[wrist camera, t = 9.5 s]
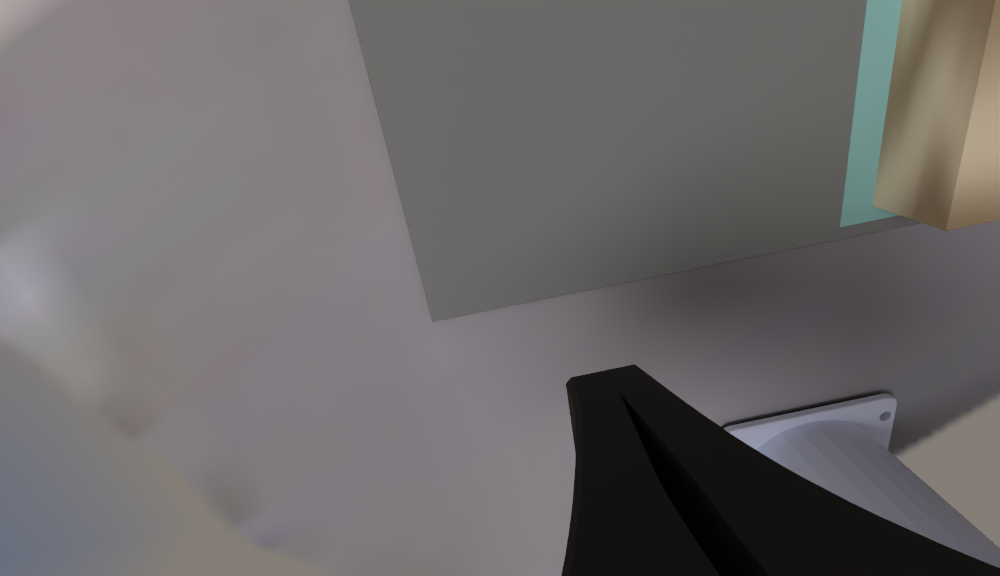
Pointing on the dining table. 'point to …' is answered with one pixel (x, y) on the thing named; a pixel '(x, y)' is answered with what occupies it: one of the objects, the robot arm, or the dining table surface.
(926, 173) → the t block
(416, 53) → the push mat
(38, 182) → the dining table surface
